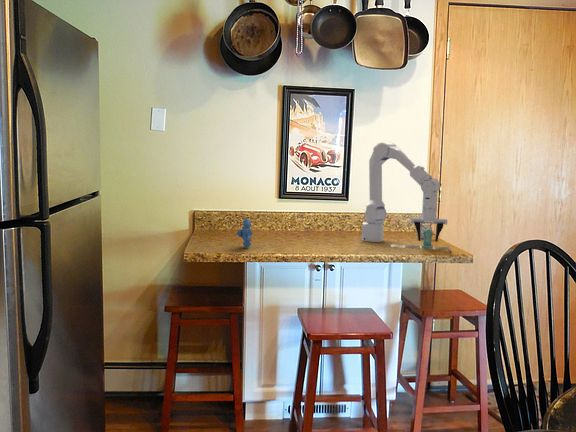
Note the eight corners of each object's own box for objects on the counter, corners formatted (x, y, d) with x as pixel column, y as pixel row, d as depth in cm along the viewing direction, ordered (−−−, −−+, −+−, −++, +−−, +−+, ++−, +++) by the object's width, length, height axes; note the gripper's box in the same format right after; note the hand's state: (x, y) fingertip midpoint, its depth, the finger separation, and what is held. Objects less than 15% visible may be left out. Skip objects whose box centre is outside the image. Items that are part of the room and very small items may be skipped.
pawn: (421, 248, 219) (422, 229, 218) (421, 246, 223) (422, 228, 222) (433, 248, 218) (434, 230, 217) (432, 246, 222) (433, 228, 221)
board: (390, 250, 218) (390, 247, 218) (390, 245, 228) (390, 243, 228) (451, 253, 214) (451, 250, 214) (448, 248, 224) (448, 246, 224)
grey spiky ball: (423, 249, 242) (416, 233, 236) (414, 239, 249) (408, 224, 243) (440, 239, 241) (434, 223, 236) (431, 230, 249) (425, 214, 243)
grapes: (236, 244, 224) (236, 216, 223) (252, 244, 225) (252, 216, 223) (236, 250, 213) (236, 220, 211) (253, 250, 213) (253, 220, 212)
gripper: (411, 208, 216) (410, 241, 217) (448, 210, 213) (446, 243, 215) (411, 206, 223) (409, 238, 224) (447, 208, 220) (445, 240, 222)
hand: (427, 240), depth 220 cm, fingers open, 6 cm apart
